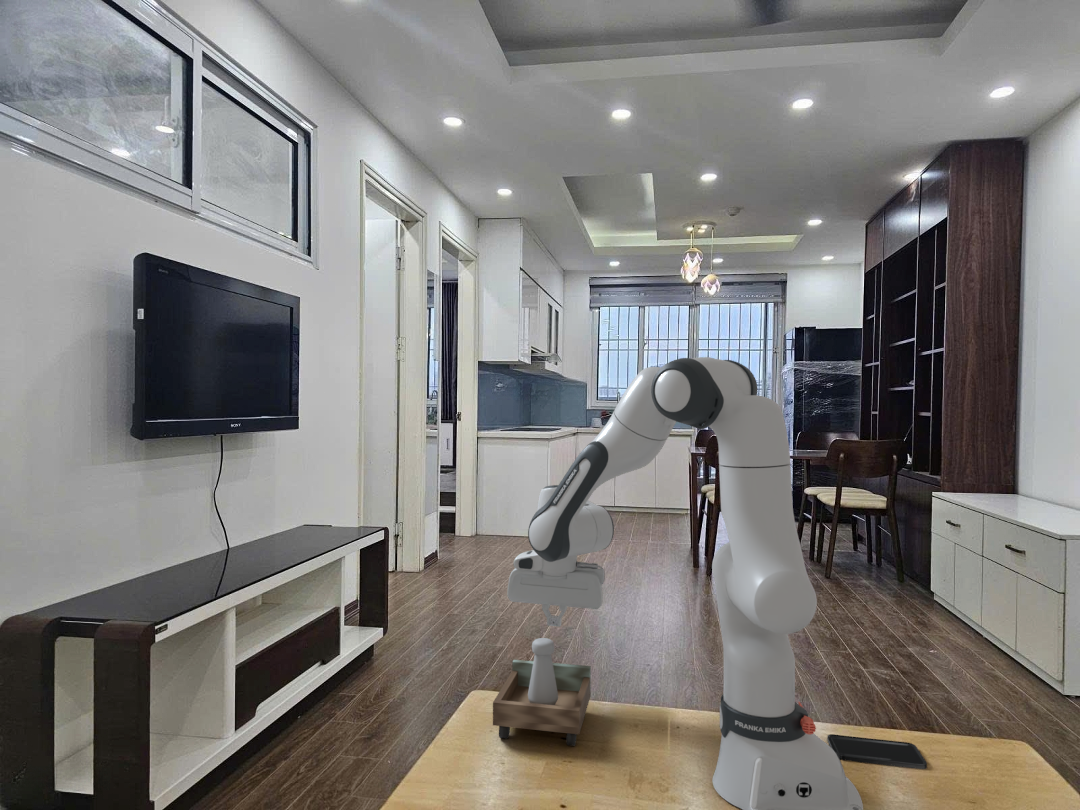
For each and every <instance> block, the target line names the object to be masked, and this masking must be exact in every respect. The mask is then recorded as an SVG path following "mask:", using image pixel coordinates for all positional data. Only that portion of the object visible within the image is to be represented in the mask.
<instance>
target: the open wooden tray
mask: <svg viewBox="0 0 1080 810" xmlns="http://www.w3.org/2000/svg"><path fill="white" fill-rule="evenodd" d="M533 662H534V660H524V659H522V660H521V659H513V660H512V661H511V663H512V665H511V666H512V667H511V668H512V669H511V672H510V673H509V676H508V677H507V679H506V680H505V682H504V683H503V685H502V686H501V688H500V690H499V692H498V693H497V695H496V697H495V698H494V700H493V701H492V726H496V727H497V726H498V737H499V738H500V739H509V736H510V732H511V728H515V729H526V730H534V731H535V730H536V731H543V732H553V733H563V734H566V740H565V741H566V745H567V746H573V747H575V746H576V744H577V735H580V734H581V729H582V726H583V723H584V719H585V717H586V713H587V710H588V706H589V703H590V699H591V691H592V690H591V688H592V687H591V685H592V684H591V681H592V680H591V678H592V677H591V675H592V671H591V670H592V669H591V666H590V665H583V664H582V665H581V664H580V665H579V664H569V663H561V662H560V663H556V662H553V668H554V674H555V680H556V686H557V691H558V700H557V702H556V704H555V705H545V704H535V703H530V702H529V699H528V690H529V685H530V679H531V673H532V667H533Z"/></svg>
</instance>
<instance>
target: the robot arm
mask: <svg viewBox="0 0 1080 810" xmlns="http://www.w3.org/2000/svg"><path fill="white" fill-rule="evenodd" d="M676 423H681V424H684V425H687V426H690V427H692V428H695V429H698V430H705V429H707V428H710V430H712V431H713V432H714V434H715V437H716V439H717V444H718V445H717V447H718V464H719V465H718V470H719V473H718V474H719V493H720V494H719V495H720V496H719V497H720V511H721V512H720V513H721V515H722V518H723V521H724V525H725V528H726V532H727V533H726V534H727V537H728V541H729V542H726V543H725V544H723V545H722V546H720V548H719V549H718V550H717V551H716V553H715V554H714V556H713V559H712V564H711V569H712V570H711V572H712V575H713V580H714V586H715V591H716V603H717V610H718V611H717V612H718V619H719V624H720V625H719V628H720V634H721V639H722V640H721V641H722V650H723V651H722V652H723V653H722V654H723V677H722V678H723V693H722V694H721V696H720V704H719V729H720V733H721V735H720V736H721V739H720V746H719V752H718V758H717V762H716V766H715V769H714V770H715V771H714V773H713V776H712V782H711V783H712V785H713V788H714V790H715V791H716V792H717V794H718V795H719V796H721V798H723V800H725V801H726V802H728V803H729V804H730V805H733V806H735V807H737V808H739V809H741V810H864V804H863V801H862V797H861V795H860V793H859V791H858V789H857V788H856V786H855V784H854V783H853V782H852V781H851V780H850V778H848V777H847V776H846V772H845V770H844V767H843V764H842V760H839V758H838V756H837V754H836V753H835V752H834V750H833V749H832V748H831V747H830V746H829V743H828V742H827V743H826V741H824V740H823V739H821V737H819V736H818V735H817V734H816V733H815V732H816V729H817V727H816V724H815V722H814V720H813V718H811V717H809V713H808V711H807V709H805V708H804V706H803V705H802V703H801V702H800V701H797V702H798V703H797V702H796V688H795V687H796V658H795V654H794V651H793V648H792V644H791V641H790V638H789V635H790V634H791V635H792V634H795V633H798V632H799V631H800V632H801V630H803V629H805V628H806V627H807V626H808V625H809V624H810V623H811V622H812V620H813V618H814V616H815V614H816V611H817V605H818V600H817V594H816V591H815V588H814V586H813V584H812V581H811V579H810V577H809V575H808V572H807V571H808V570H807V569H806V565H805V560H804V559H805V558H804V554H803V550H802V546H801V542H800V539H799V534H798V530H797V529H798V528H797V525H796V520H795V514H794V508H793V505H794V504H793V491H792V473H791V472H792V471H791V470H792V469H791V457H790V456H791V454H790V451H791V450H790V445H789V439H788V432H787V427H786V422H785V418H784V415H783V411H782V409H781V406H780V405H779V404H778V403H777V402H776V401H775V400H773V399H771V398H769V397H766V396H764V395H763V396H762V395H758V382H757V380H756V377H755V375H754V373H753V372H752V371H751V370H750V369H749V368H748V367H747V366H745V365H743V364H742V363H740V362H737V361H736V360H732V359H731V360H730V359H718V358H713V357H709V356H705V357H704V356H702V357H701V356H700V357H699V356H698V357H691V358H690V357H681V358H677V359H674V360H671V361H669V362H668V363H665V364H664V365H663V366H662V367H660V366H649V367H646V368H643V369H641V371H639V372H638V373H637V375H636V376H635V377H634V379H632V381H631V382H630V384H629V385H628V386H627V388H626V389H625V391H624V393H623V394H622V396H621V397H620V399H619V401H618V402H617V405H616V406H615V408H614V409H613V413H611V416H610V417H609V419H608V421H607V423H606V424H605V425H604V426H603V428H602V429H601V430H600V431H599V433H598V434H597V435H596V436H595V438H593V439H592V440H591V442H589V443H588V444H587V445H586V446H585V447H584V448H583V449H582V450H581V451H580V453H578V455H577V457H576V458H575V460H573V462H572V464H571V465H570V467H569V468H568V469H567V471H566V473H565V474H564V476H563V477H562V479H561V481H560V482H559V483H558V484H556V485H555V484H553V485H547V486H545V487H543V488H541V490H540V492H539V496H538V501H537V507H536V508H537V509H536V512H535V513H534V514H533V516H532V518H531V520H530V523H529V526H528V529H527V539H528V542H529V544H530V547H531V550H528V551H524V552H521V553H520V554H517V556H516V557H515V558H514V560H513V567H514V568H513V569H512V571H511V572H510V575H509V578H508V585H507V593H506V594H507V596H506V597H507V599H508V600H509V601H510V602H512V603H513V602H514V603H524V604H535V605H541V610H542V612H543V614H544V616H545V618H546V626H551V627H558V628H559V627H560V628H561V626H562V624H563V623H562V618H563V617H564V615H565V613H566V611H567V610H568V608H569V607H570V608H580V609H589V610H598V609H600V608H601V606H602V605H603V603H604V602H603V601H604V590H603V584H604V583H605V580H606V579H605V578H606V577H605V576H606V572H605V569H604V567H602V566H601V565H599V564H598V563H596V562H585V561H584V562H583V561H578V556H581V555H586V554H592V553H596V552H601V551H602V550H605V549H607V548H609V546H610V545H611V543H612V541H613V539H614V536H615V535H614V534H615V525H614V521H613V518H612V515H611V514H610V511H608V509H606V508H605V507H603V505H599V504H596V503H594V502H592V501H591V500H590V498H591V497H592V495H593V493H594V492H595V491H596V490H597V489H598V488H599V487H600V486H601V485H603V484H605V483H606V482H608V481H610V480H612V479H614V478H616V477H619V476H621V475H625V474H627V473H631V472H633V471H636V470H639V469H643V468H645V467H646V466H648V465H649V464H650V463H652V461H653V460H654V459H655V458H656V457H657V456H658V454H659V453H660V452H661V450H662V449H663V447H664V445H665V444H666V442H667V440H668V438H669V436H670V434H671V432H672V430H673V428H674V426H676ZM551 606H558V608H559V609H558V610H559V611H560V613H559V614H558V615H552V613H551V611H550V608H551Z"/></svg>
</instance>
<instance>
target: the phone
mask: <svg viewBox="0 0 1080 810" xmlns="http://www.w3.org/2000/svg"><path fill="white" fill-rule="evenodd" d="M826 739H827V744H828V745H830V747H831V748H832V749H833V750H834V752H835V753H836V754H837V756H838V758H839V760H840V761H845V762H856V763H862V762H863V763H862V764H874V765H881V766H882V765H883V766H890V767H896V768H897V767H899V768H906V769H908V768H909V769H915V770H916V769H917V770H927V769H928V762H927V761H926V759H925V758H924V756H923V754H921V752H920V750H919V748H918V747H917V746H916V744H913V743H912V742H906V741H897V740H889V739H888V740H887V739H878V738H877V739H876V738H872V737H871V738H868V737H859V736H850V735H841V734H828V735H827V738H826Z"/></svg>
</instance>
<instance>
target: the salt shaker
mask: <svg viewBox="0 0 1080 810" xmlns="http://www.w3.org/2000/svg"><path fill="white" fill-rule="evenodd" d="M555 648H556V647H555V642H554V640H552V639H550V638H549V637H548V638H547V637H539V638H535V639H534V640H533V641H532V643H531V651H532V654H534V656H533V657H534V658H533V661H534V662H533V667H532V673H531V679H530V685H529V690H528V699H529V702H530V703H535V704H545V705H555V704H556V702H557V700H558V691H557V686H556V680H555V674H554V668H553V663H554V662H553V657H552V654H554V653H555Z"/></svg>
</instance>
